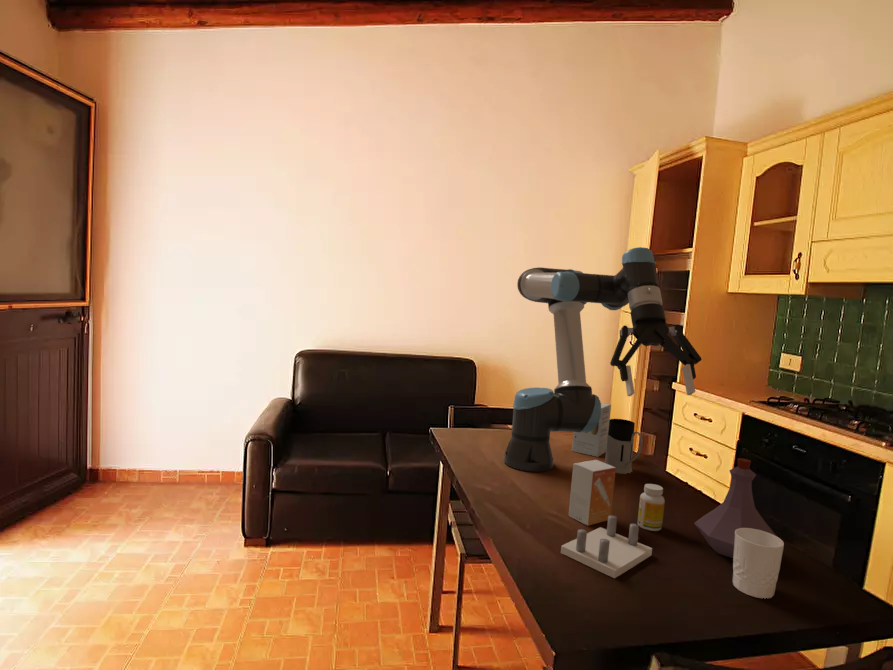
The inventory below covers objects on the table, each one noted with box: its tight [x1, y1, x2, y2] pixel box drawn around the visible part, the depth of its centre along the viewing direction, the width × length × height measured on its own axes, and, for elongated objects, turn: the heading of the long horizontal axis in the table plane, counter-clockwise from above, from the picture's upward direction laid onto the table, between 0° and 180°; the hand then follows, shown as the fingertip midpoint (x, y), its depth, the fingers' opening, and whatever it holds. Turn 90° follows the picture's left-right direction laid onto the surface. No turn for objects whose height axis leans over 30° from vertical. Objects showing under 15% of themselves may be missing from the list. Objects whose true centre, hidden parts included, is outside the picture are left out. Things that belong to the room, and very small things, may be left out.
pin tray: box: [560, 514, 653, 579], centre depth 109 cm, size 12×15×6 cm
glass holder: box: [604, 418, 644, 475], centre depth 163 cm, size 9×14×15 cm, turn 18°
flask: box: [694, 457, 777, 559], centre depth 114 cm, size 16×16×20 cm
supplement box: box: [571, 402, 612, 458], centre depth 183 cm, size 10×9×17 cm
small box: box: [568, 459, 616, 527], centre depth 127 cm, size 8×6×13 cm
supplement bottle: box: [637, 483, 666, 532], centre depth 124 cm, size 5×5×10 cm
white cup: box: [732, 528, 785, 600], centre depth 99 cm, size 8×8×10 cm
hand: (661, 394), depth 121 cm, fingers open, 13 cm apart
